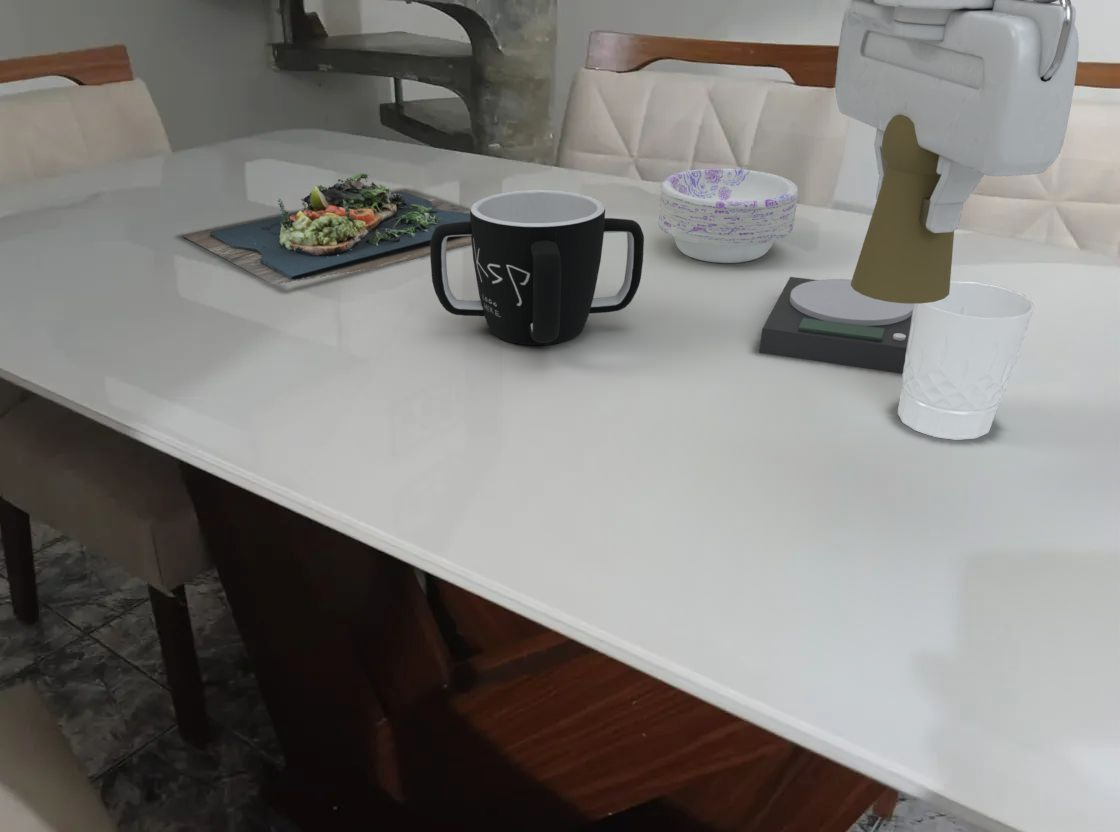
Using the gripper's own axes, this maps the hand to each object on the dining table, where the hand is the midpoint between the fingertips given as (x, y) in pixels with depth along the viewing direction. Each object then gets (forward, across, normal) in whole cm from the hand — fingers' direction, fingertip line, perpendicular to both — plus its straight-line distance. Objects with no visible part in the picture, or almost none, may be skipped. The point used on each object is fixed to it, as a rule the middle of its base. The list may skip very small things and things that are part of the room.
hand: (913, 216), depth 61 cm
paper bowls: (+18, +50, -5) cm, 53 cm away
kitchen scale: (+18, +24, -9) cm, 31 cm away
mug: (+18, +29, +20) cm, 39 cm away
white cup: (+18, +6, -9) cm, 21 cm away
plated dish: (+18, +65, +38) cm, 77 cm away
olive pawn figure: (+5, 0, 0) cm, 5 cm away
